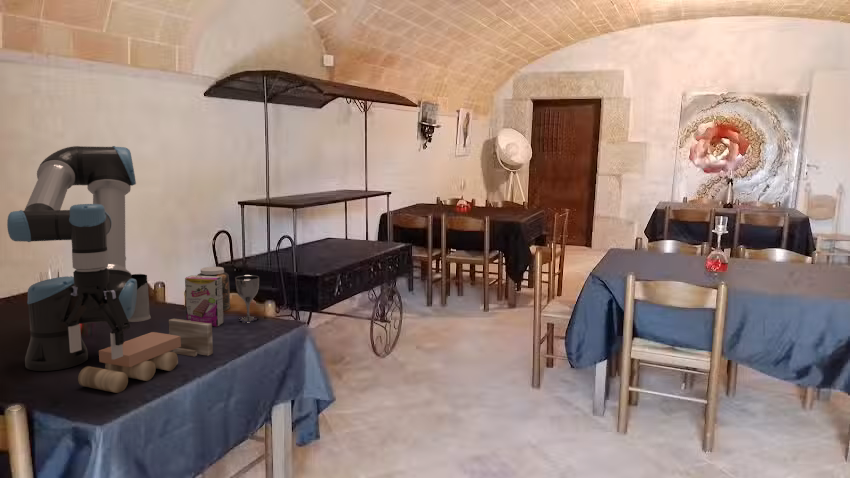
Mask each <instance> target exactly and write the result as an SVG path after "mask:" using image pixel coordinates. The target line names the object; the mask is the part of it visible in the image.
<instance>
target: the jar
mask: <svg viewBox="0 0 850 478" xmlns="http://www.w3.org/2000/svg"><path fill="white" fill-rule="evenodd" d="M196 275H197V276H218V277H222V291H223V312H224V311H227V310H229V309H231V302H230V301H231V299H230V297H231V296H230V295H231V294H230V291H231V290H230V277H229V276H230V275H229V274H228V273H227V272H225V269H224V267H222V266H206V267H201V268H200V273H197V274H196Z"/></svg>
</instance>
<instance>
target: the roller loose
mask: <svg viewBox="0 0 850 478" xmlns="http://www.w3.org/2000/svg"><path fill="white" fill-rule="evenodd" d="M77 380H78V381H77V382H78V384H79V385H80V386H81V387H86V388H90V389H95V390H100V391H105V392H111V393H114V394H119V393H121V392H123V391H125V389H126V388H127V386H128V383H129V378H128V376H127V375H126V374H125V373H123V372H118V371H112V370H107V369H105V368H101V367H96V366H90V365H87V366H85V367H83V368H82V369H81V370H80V371H79V373H78V378H77Z"/></svg>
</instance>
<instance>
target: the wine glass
mask: <svg viewBox="0 0 850 478" xmlns="http://www.w3.org/2000/svg"><path fill="white" fill-rule="evenodd" d="M234 279H235V290H236V293H237V295H238V296H239V297H240V299H242V300H243V301H244V303H245V306H246V307H245V308H246V316H244V318H243V317H241V318H242V319H241V320H244V321H251V320H253V319H254V317H255V316H251V315H250V308H251V307H250V306H251V302H252V301H253V299H254V298H255V297H256V296H257V294H258V292H259V289H260V288H259V287H260V276H258V275H254V274H251V275H250V274H245V275H237V276H235V277H234Z"/></svg>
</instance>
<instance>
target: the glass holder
mask: <svg viewBox="0 0 850 478" xmlns="http://www.w3.org/2000/svg"><path fill="white" fill-rule="evenodd" d="M131 278H133V279H136V281H137V298H136V305H135V310H134V314H133V316H132V317H131V318H130V319H128V321H129V323H137V322H139V323H140V322H144V321H148V320H150V319H152V317H151V314H150V299H149V295H150V293H149V283H148V275H147V274H142V273H135V274H132V273H131Z"/></svg>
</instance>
